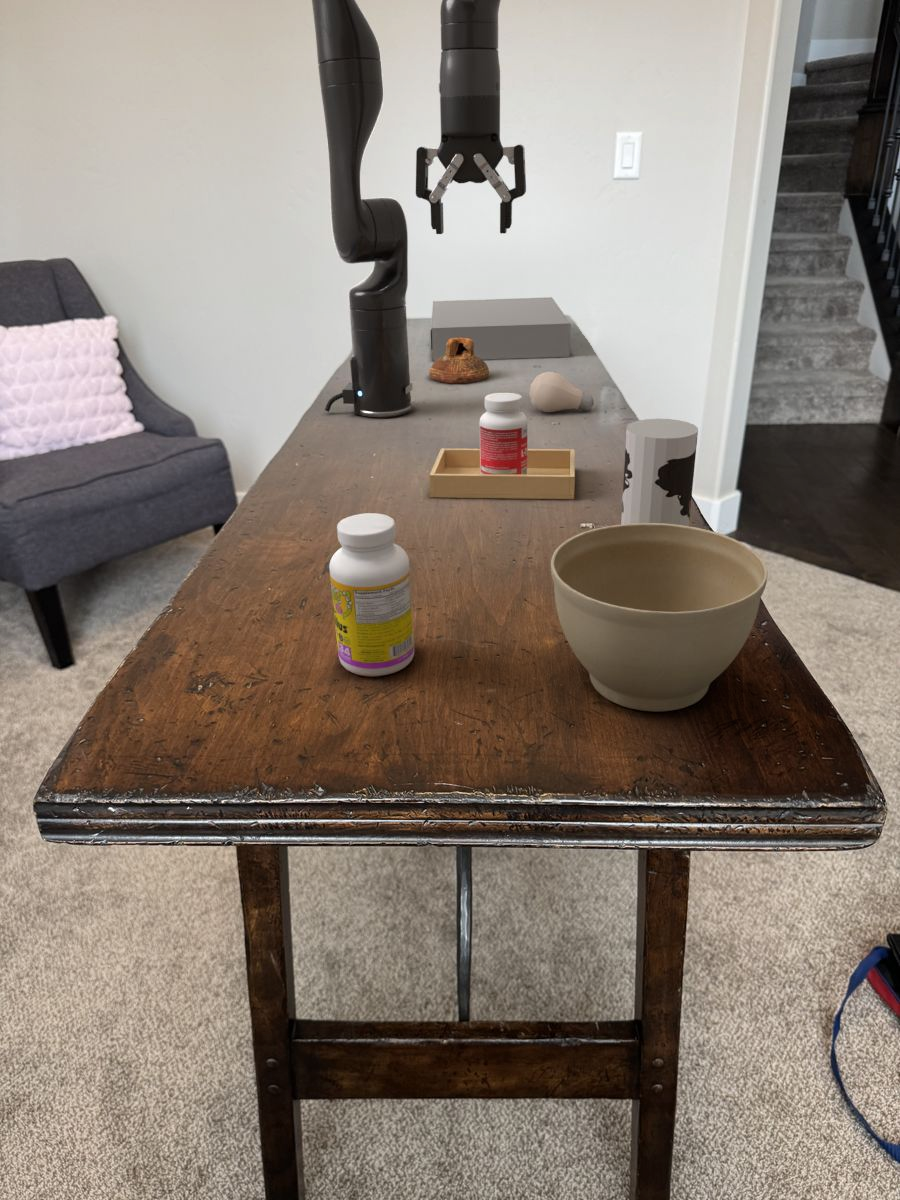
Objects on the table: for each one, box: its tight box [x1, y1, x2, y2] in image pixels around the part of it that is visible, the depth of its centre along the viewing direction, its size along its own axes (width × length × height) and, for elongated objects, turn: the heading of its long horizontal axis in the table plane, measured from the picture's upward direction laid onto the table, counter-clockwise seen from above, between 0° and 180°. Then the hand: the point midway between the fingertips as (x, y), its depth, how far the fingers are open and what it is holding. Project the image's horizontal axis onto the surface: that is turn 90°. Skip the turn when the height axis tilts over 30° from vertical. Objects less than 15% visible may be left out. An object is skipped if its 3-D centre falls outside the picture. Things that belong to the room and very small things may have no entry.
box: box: [430, 296, 572, 362], centre depth 200 cm, size 35×29×7 cm
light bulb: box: [528, 371, 595, 413], centre depth 147 cm, size 7×7×11 cm
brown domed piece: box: [428, 338, 490, 384], centre depth 171 cm, size 12×12×7 cm
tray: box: [429, 447, 576, 500], centre depth 117 cm, size 18×11×3 cm, turn 83°
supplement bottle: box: [328, 512, 415, 677], centre depth 75 cm, size 7×7×13 cm
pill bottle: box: [478, 392, 528, 475], centre depth 114 cm, size 6×6×11 cm
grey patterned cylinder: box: [620, 418, 699, 527], centre depth 89 cm, size 7×7×15 cm
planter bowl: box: [550, 523, 769, 713], centre depth 71 cm, size 16×16×11 cm
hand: (471, 233), depth 118 cm, fingers open, 8 cm apart
